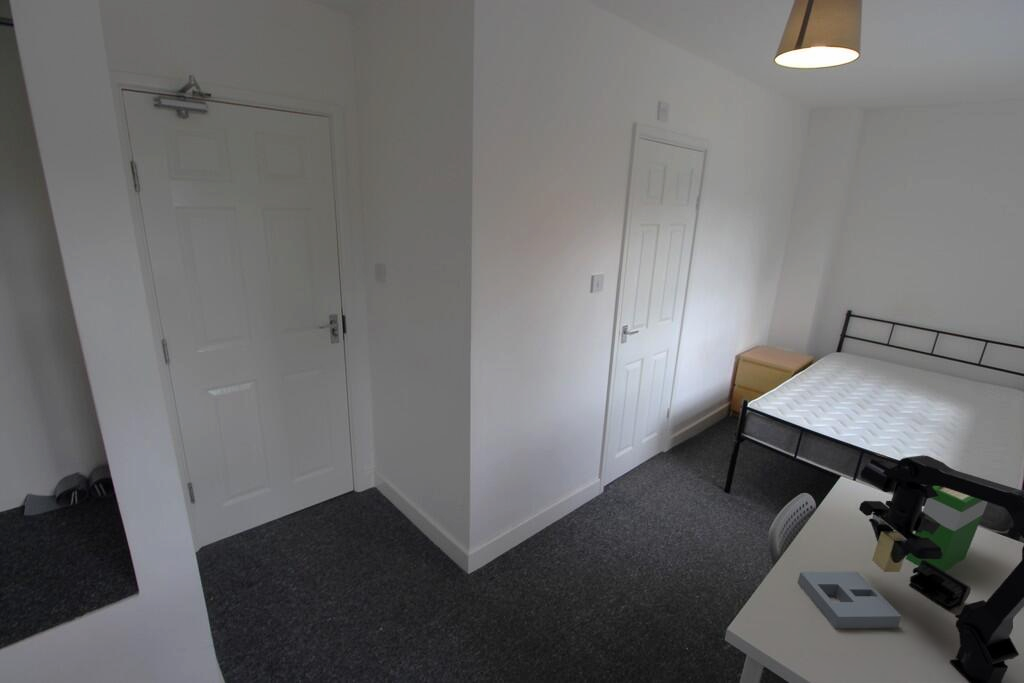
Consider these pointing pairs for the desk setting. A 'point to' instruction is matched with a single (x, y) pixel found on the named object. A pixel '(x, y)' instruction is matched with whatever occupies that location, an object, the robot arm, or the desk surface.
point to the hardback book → (951, 525)
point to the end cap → (939, 586)
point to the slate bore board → (848, 600)
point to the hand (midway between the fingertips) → (888, 556)
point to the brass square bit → (887, 551)
